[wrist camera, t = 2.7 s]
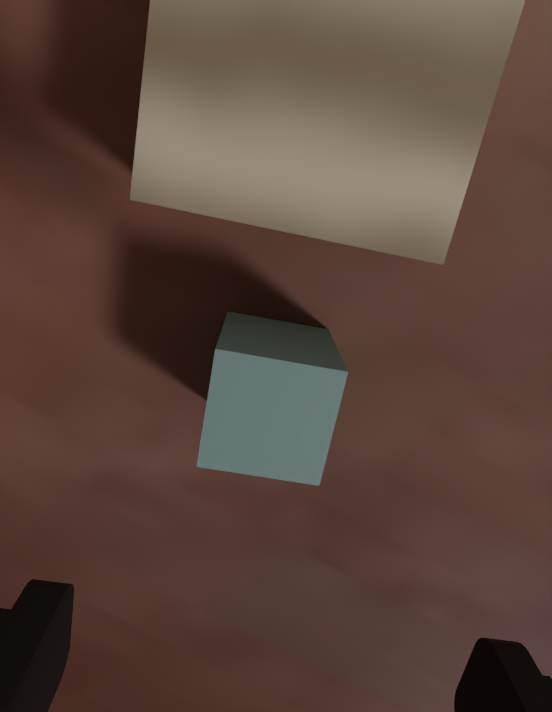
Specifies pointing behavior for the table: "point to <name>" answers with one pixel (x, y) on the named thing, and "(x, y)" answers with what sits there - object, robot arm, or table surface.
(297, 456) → the teal block
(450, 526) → the table surface
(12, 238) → the table surface
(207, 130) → the birch block
